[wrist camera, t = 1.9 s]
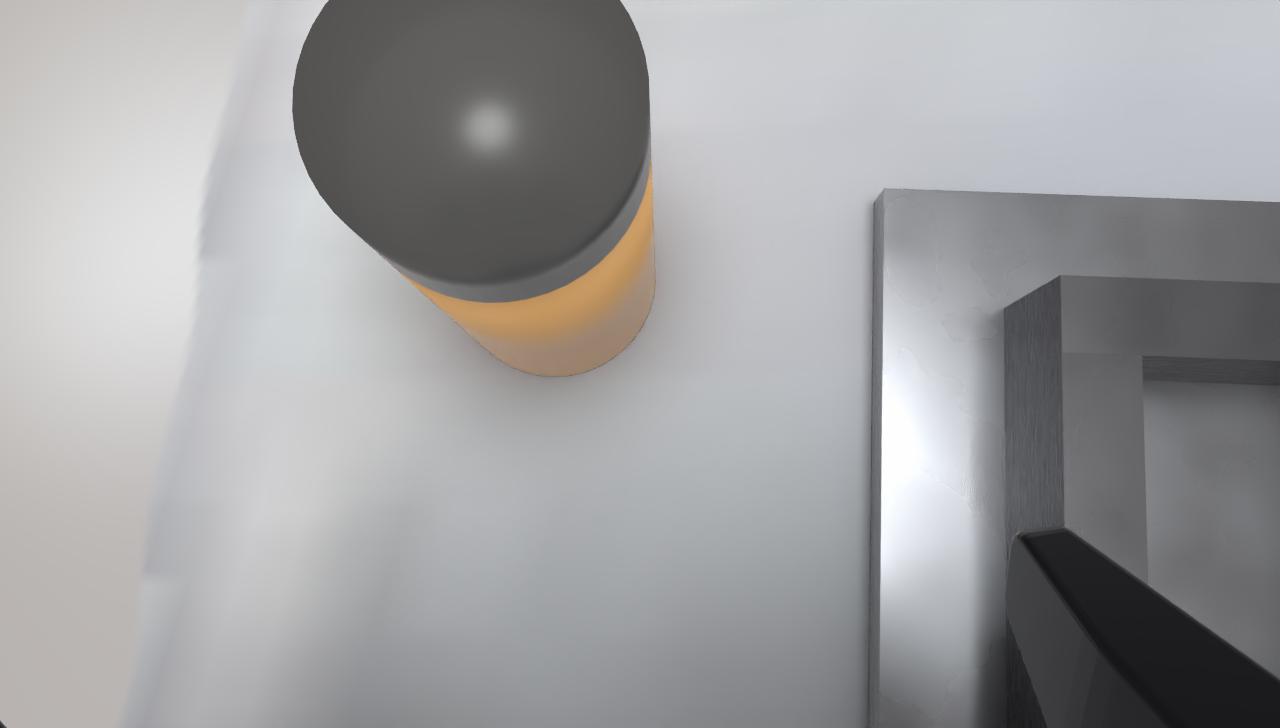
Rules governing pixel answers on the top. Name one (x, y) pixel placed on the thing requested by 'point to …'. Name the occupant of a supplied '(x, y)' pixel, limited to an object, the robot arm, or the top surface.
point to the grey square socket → (1065, 425)
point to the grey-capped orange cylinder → (492, 163)
